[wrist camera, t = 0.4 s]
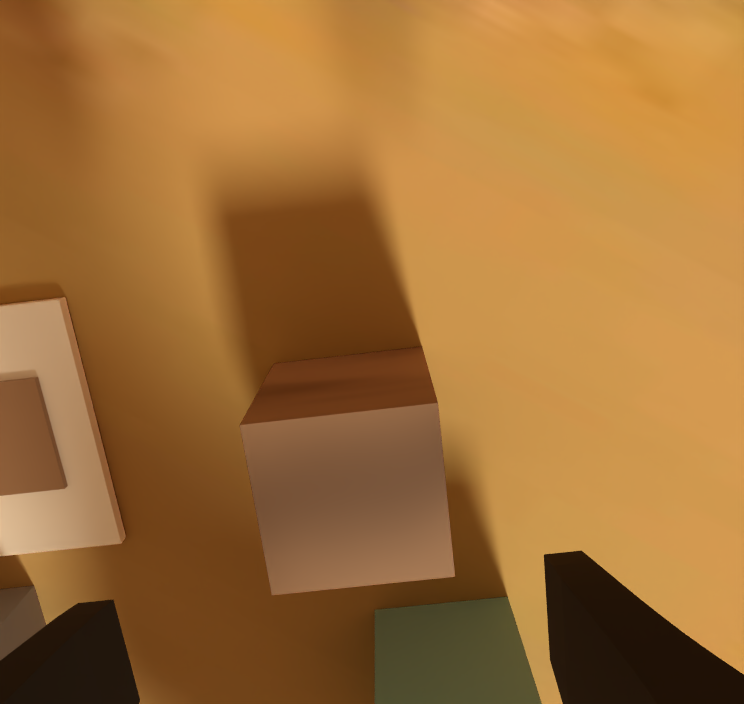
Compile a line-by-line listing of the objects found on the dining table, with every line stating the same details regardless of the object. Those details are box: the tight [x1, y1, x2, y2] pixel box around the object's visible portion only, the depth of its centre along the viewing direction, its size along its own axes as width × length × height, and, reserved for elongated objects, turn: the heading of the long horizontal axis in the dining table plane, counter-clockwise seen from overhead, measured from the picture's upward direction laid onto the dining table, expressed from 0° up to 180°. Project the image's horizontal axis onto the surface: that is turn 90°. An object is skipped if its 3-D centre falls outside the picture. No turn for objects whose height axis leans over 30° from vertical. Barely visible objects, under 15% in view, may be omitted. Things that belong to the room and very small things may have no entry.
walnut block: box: [240, 347, 455, 595], centre depth 17 cm, size 4×4×5 cm
